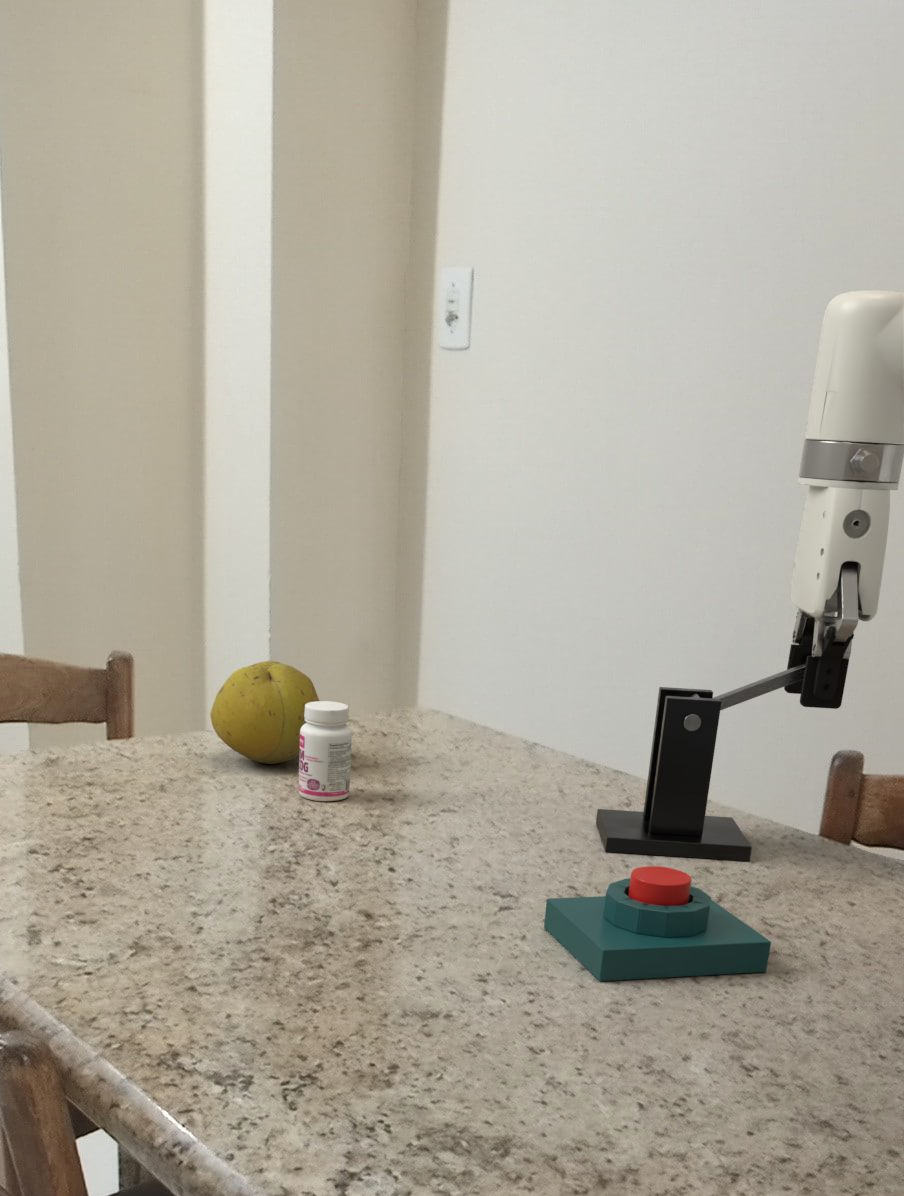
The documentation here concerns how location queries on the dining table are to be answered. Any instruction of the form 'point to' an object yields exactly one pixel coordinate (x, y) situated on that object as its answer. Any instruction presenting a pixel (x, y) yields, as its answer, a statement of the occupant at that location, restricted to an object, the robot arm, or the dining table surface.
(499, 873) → the dining table surface
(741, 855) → the switch bracket
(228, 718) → the fruit
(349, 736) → the pill bottle
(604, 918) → the button block
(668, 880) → the stop button
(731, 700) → the switch lever
